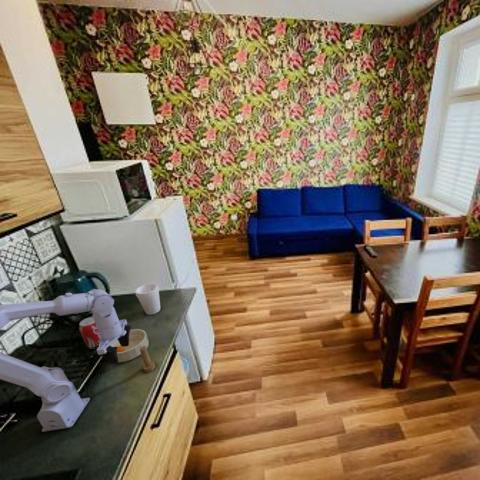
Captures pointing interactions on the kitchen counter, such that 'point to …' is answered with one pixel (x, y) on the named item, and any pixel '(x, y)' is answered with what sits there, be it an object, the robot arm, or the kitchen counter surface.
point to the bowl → (132, 345)
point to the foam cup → (149, 297)
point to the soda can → (90, 332)
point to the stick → (146, 360)
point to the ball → (120, 349)
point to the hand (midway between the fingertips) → (120, 353)
